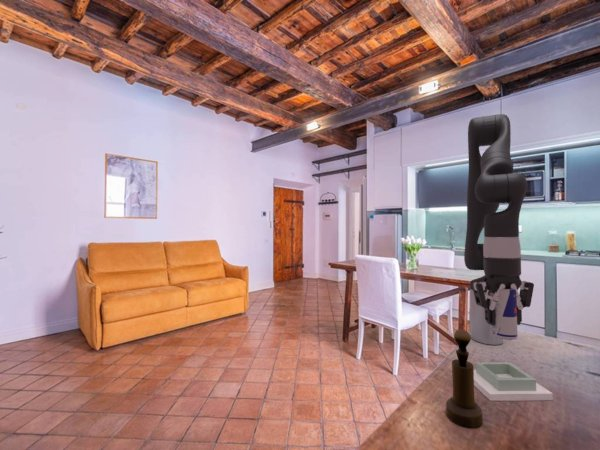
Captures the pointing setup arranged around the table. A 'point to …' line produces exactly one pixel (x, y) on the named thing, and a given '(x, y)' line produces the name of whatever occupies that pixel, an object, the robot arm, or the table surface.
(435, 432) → the table surface
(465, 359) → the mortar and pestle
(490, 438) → the table surface
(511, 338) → the energy drink
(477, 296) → the robot arm
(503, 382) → the baseplate
